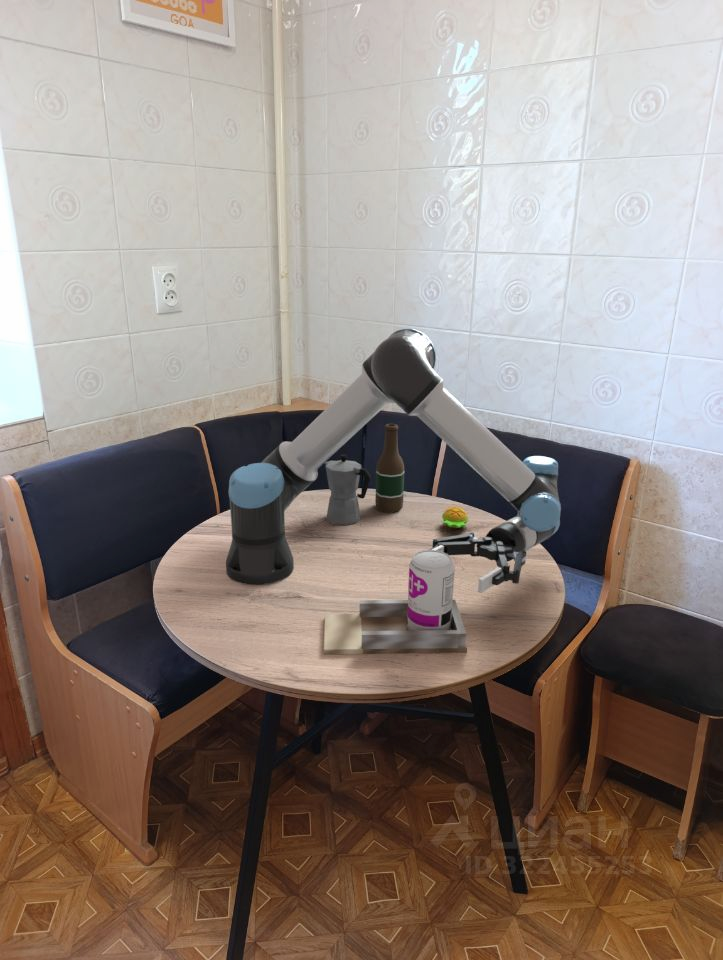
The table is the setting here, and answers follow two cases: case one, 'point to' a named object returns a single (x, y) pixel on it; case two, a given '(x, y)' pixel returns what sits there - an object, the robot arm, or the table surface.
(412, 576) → the supplement can
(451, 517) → the pineapple toy
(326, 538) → the table surface
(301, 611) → the table surface
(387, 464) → the beer bottle
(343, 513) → the coffeepot
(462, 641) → the rectangular tray
